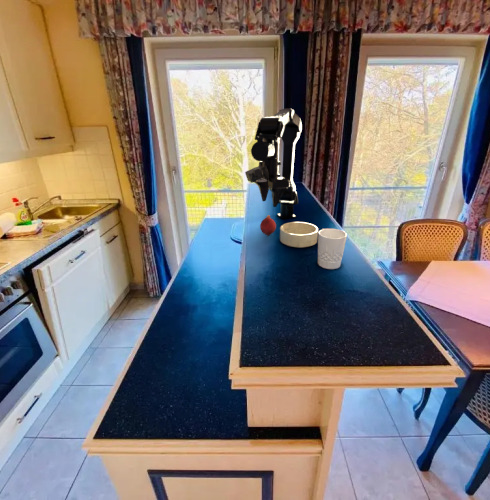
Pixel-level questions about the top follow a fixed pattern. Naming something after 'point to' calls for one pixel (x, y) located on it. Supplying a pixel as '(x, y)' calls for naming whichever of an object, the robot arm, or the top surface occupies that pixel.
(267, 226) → the onion
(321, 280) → the top surface
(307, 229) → the bowl
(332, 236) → the white cup
